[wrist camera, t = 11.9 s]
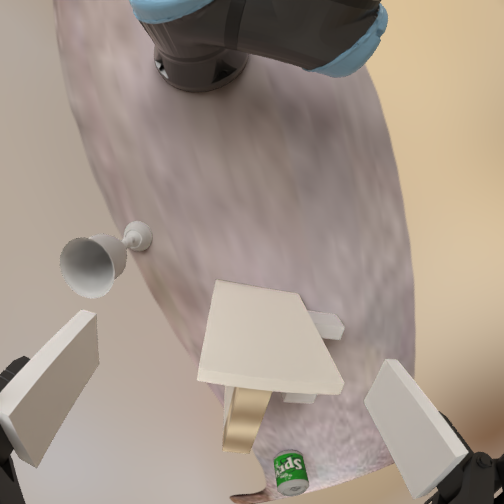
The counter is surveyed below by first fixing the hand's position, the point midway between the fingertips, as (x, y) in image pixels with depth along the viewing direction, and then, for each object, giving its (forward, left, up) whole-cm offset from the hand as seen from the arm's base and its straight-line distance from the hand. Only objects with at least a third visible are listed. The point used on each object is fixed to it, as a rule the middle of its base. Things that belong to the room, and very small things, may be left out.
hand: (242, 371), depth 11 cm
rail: (+20, +5, -21) cm, 29 cm away
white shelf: (+19, +5, -35) cm, 40 cm away
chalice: (+4, -16, -35) cm, 39 cm away
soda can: (+54, +23, -35) cm, 68 cm away
